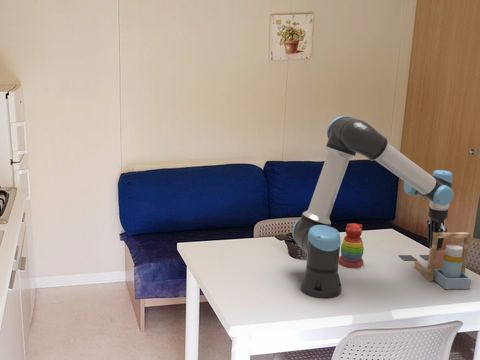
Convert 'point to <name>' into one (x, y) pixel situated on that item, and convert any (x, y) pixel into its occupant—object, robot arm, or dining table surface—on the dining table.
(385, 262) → the dining table surface
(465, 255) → the wooden frame rack
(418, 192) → the robot arm
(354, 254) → the stacking bear
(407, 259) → the pit pads
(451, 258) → the bottle
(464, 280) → the tray
